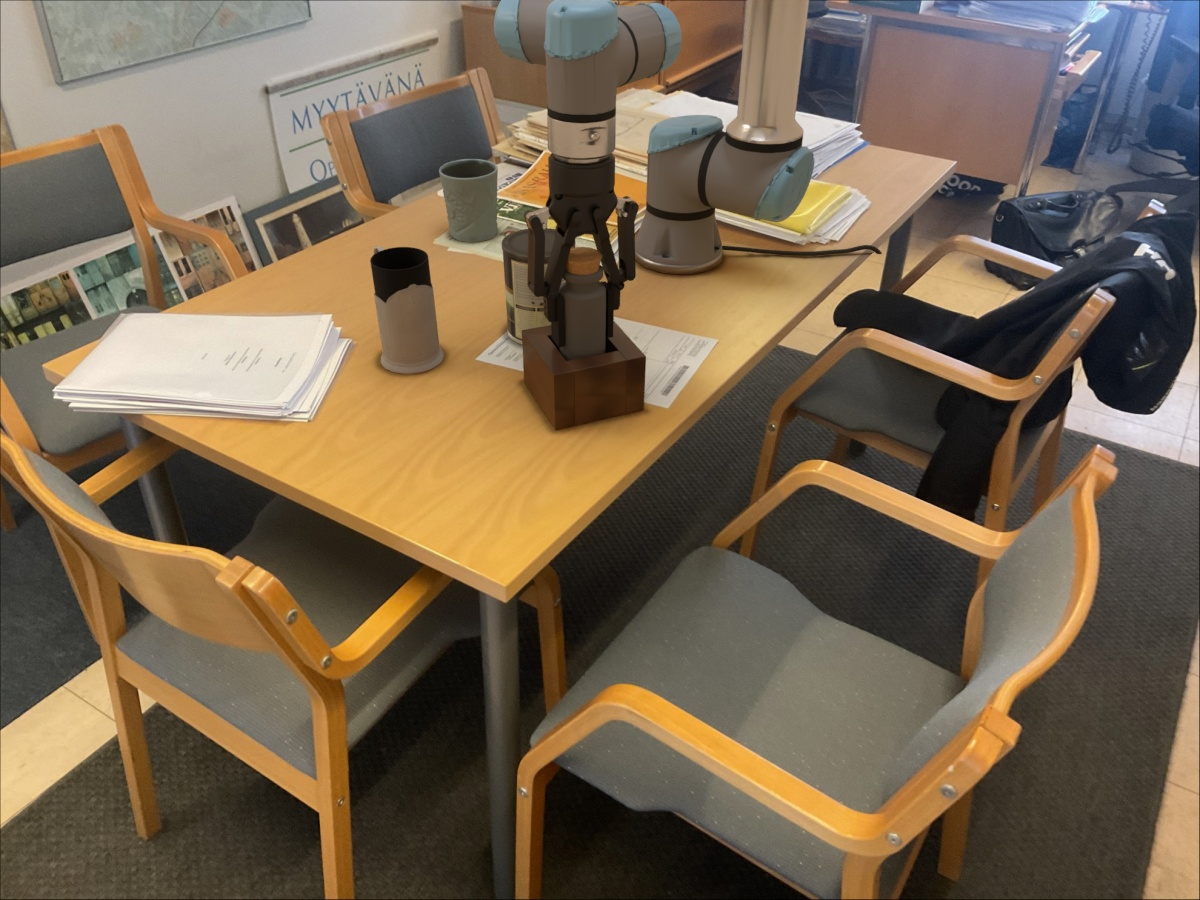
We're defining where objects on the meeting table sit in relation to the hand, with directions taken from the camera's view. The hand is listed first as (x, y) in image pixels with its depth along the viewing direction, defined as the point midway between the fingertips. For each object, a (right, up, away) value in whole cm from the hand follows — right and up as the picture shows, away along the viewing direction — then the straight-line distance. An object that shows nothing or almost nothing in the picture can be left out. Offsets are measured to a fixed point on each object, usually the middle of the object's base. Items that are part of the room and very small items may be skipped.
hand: (582, 337), depth 114 cm
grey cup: (-21, +25, +50) cm, 60 cm away
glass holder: (-26, 0, +15) cm, 30 cm away
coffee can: (-6, +3, +20) cm, 21 cm away
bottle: (0, -3, +2) cm, 4 cm away
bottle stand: (0, -7, +5) cm, 9 cm away
